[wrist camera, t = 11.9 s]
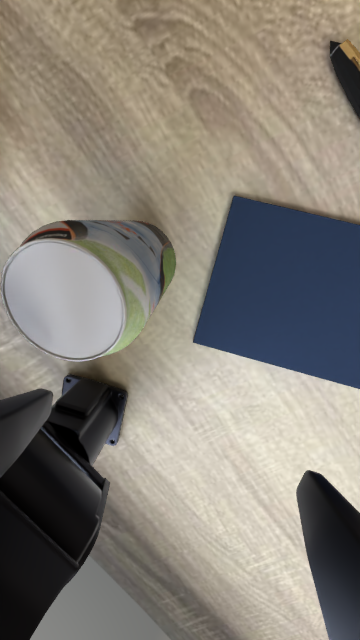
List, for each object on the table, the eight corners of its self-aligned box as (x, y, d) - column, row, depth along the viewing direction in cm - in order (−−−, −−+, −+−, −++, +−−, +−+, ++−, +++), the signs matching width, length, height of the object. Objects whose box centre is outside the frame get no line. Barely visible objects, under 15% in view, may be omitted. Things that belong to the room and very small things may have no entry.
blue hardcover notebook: (423, 405, 19) (428, 408, 19) (193, 341, 21) (192, 342, 20) (512, 262, 16) (520, 262, 16) (233, 196, 17) (234, 195, 17)
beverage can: (164, 212, 18) (84, 131, 7) (192, 300, 20) (165, 354, 8) (95, 239, 20) (-70, 209, 8) (126, 320, 21) (23, 392, 10)
